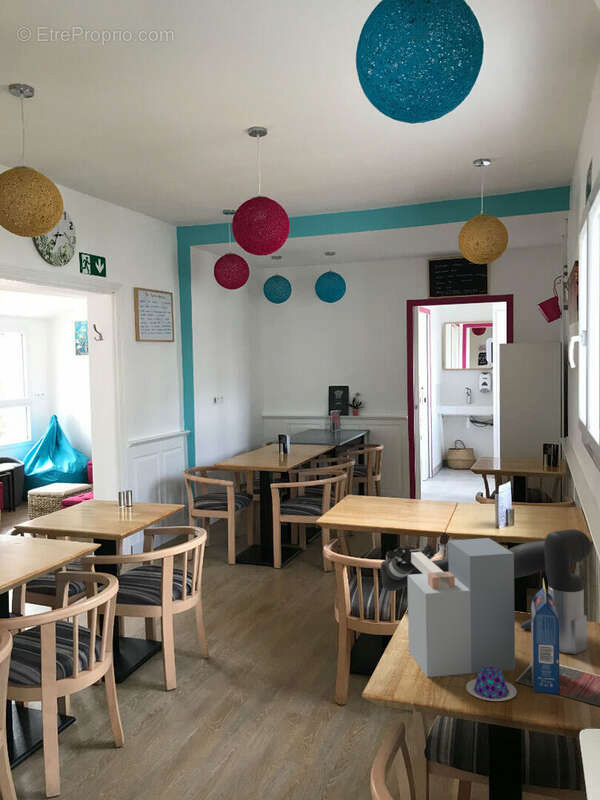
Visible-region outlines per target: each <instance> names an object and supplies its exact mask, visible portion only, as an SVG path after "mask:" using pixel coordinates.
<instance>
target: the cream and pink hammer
mask: <svg viewBox="0 0 600 800" xmlns="http://www.w3.org/2000/svg"><path fill="white" fill-rule="evenodd" d="M432 561H433V560H432V559H428V558H427V557H426V556H425V555H424V552H423V553H422V552H419V551H418V552H412V553H411V563H412V564H413V565H414V566H415V567H416V568H417V569H419V570H420V571H421V572H422V573H423V574H424V575H425V576H426V577H427V578H428V585H429V586H430V587H431V588H432V589H439V588H453V587H455V576H454V575H453V574H451V573H450V572H443V571H442V570H441V569H440V568H439V567H438V566H436V565H435V564H434V563H433V562H432Z"/></svg>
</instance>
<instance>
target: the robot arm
mask: <svg viewBox="0 0 600 800" xmlns="http://www.w3.org/2000/svg"><path fill="white" fill-rule="evenodd" d="M508 550H509V551H511V552H513V553H514V579H518V578H521V577H526V576H531V575H533V574H536V573H540V572H541V571H544V570H545V575H546V578H547V583H548V584H547V586H548V587H547V588H548V591H547V592H548V593H549V594H550V595H551V597H552V598H553V600H554V603H555V607H556V610H557V614H558V622H559V653H563V654H573V655H578V654H580V653H582V652H583V651H585V650H587V649H588V616H587V615H586V614H584V612H585V611H584V599H585V598H584V579H583V578H582V576H580V575H578V574H575V573H573V572H571V565H570V564H575V563H580V562H582V561H584V560H586V559H587V558H588V557H589V555H590V553H591V551H592V542H591V540H590V538H589V536H588V535H587V534H586V533H584V532H583V531H581V530H578V529H573V528H570V529H563V530H562V529H561V530H555V531H551V532H549V533H548V534H547V535H546V537H545V539H544V540H537V541H531V542H525V543H522V544H517V545H515V546H513V547H510V548H508ZM412 552H422V553H423V554H424V555H425V556H426V557H427V558H428V559H430V560H431V561H432V562H433V563H434V564H435V565H436V566H438V567H439V568H440V569H441V570H442V571H443V572H449V560H448V557H447V558H442V559H436V560H432V559H433V558H434V557H436V556H435V550H434V547H432V546H431V545H430V544H426V545H425V547H424V548H420V547H418V548H415V549H411V548H409V547H402V546H399V547H398V548H396V549H395V550H391V549H390V550H387V552H386V554H385V559H384V560H383V561H382V562H381V564H380V573H381V583H382V587H383V589H385V590H386V591H388V592H395V591H399V590H401V589H403V588H406V587H408V575H412V574H423V573H422V572H421V571H420V570H419V569H417V568H416V567H415V566H414V565H413V564H412V563H411V553H412Z"/></svg>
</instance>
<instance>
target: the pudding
mask: <svg viewBox="0 0 600 800" xmlns="http://www.w3.org/2000/svg"><path fill="white" fill-rule="evenodd" d="M465 686H466V691H467V692H468V693H469V694H470V695H472V696H474V697H476V698H479V699H481V700H484V701H485V700H486V701H491V702H492V701H494V702H500V701H501V702H503V701H507V700H511V699H513V698H514V697H516V695H517V692H518V691H517V689H516V687H515V686H514V685H513V684H512V683H510V682H508V681H506V679H505V676H504V673H503V671H501V670H500V669H497V668H495V667H483V668H481V669H480V671H479V672H478V673H477V676H476V678H474V679H471V680H470V681H468V682H467V683H466V685H465Z"/></svg>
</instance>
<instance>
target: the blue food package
mask: <svg viewBox="0 0 600 800" xmlns="http://www.w3.org/2000/svg"><path fill="white" fill-rule="evenodd" d="M530 610H531V611H530V613H531V614H530V619H531V630H530V631H531V632H530V634H531V635H530V636H531V638H530V639H531V677H532V678H531V682H532V688H533V691H534V692H538V693H546V694H556V695H559V694H560V652H559V622H558V614H557V610H556V607H555V603H554V600H553V598H552V597H551V595H550V594H549V593H548V591H547V590H546V585H545V580H544V578H542V588H541V589H540V590H539V591H538V592H537V593H535V595H534V596H533V598H532V601H531V607H530Z"/></svg>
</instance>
